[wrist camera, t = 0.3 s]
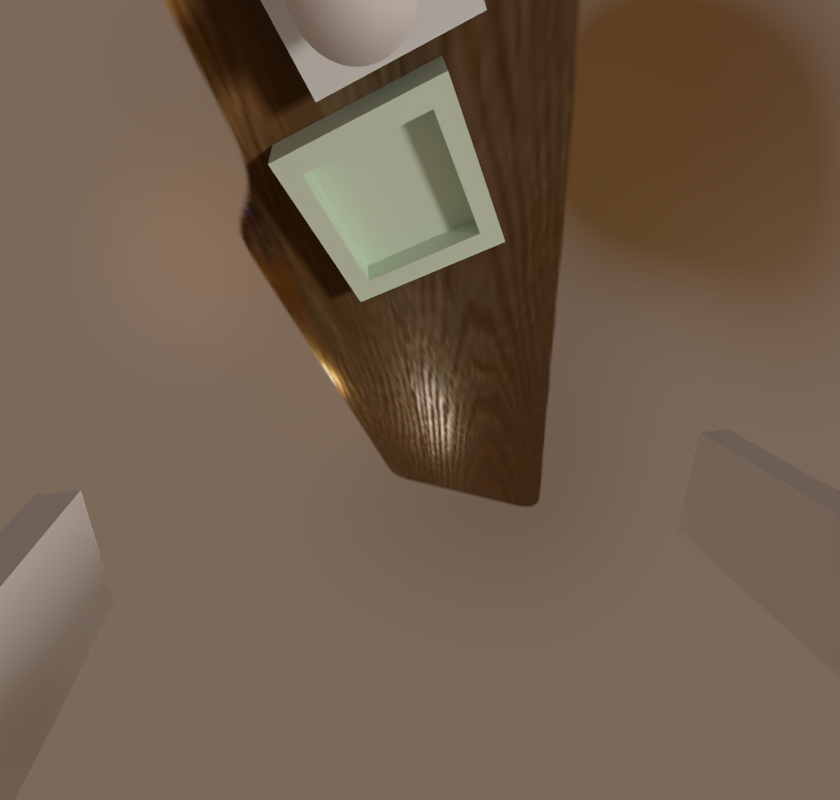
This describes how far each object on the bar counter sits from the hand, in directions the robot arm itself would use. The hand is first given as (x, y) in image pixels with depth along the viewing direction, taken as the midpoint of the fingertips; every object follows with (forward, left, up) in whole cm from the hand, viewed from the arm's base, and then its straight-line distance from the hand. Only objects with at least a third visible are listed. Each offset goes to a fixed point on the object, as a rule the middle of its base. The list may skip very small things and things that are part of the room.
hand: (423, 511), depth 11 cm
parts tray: (+8, -2, -32) cm, 33 cm away
